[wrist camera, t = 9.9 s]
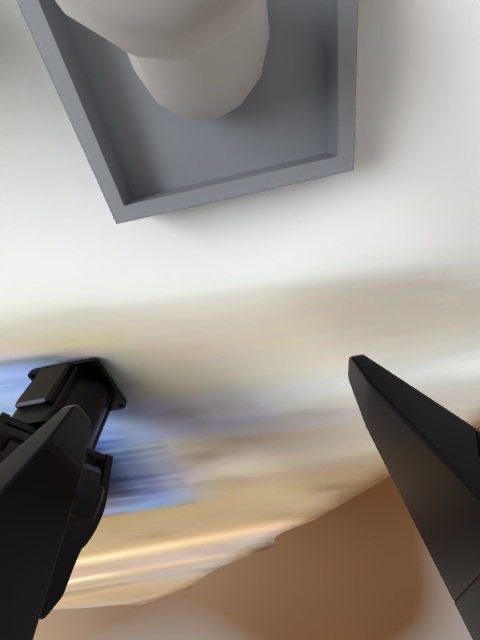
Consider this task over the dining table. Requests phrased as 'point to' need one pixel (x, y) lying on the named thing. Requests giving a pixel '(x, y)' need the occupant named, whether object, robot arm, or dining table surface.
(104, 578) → the dining table surface
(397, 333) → the dining table surface
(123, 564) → the dining table surface
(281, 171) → the bin
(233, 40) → the salt shaker
